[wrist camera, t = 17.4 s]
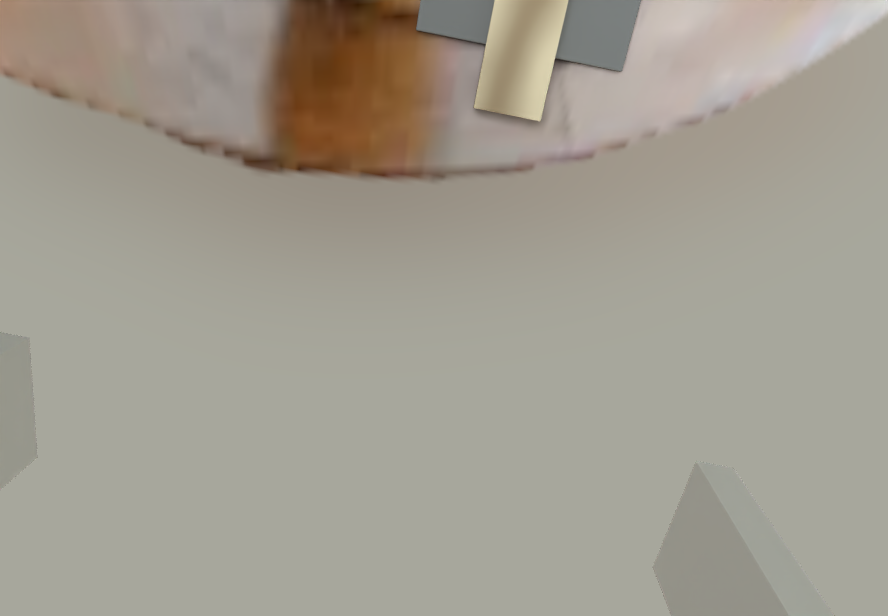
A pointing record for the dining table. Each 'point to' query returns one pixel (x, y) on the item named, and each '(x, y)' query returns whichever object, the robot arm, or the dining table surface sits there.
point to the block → (520, 56)
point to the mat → (582, 36)
